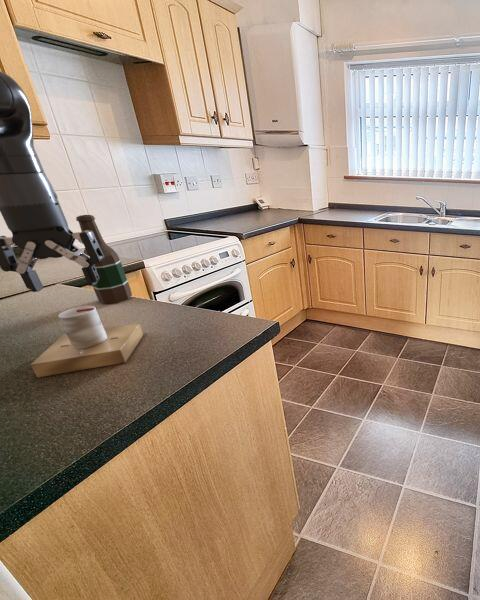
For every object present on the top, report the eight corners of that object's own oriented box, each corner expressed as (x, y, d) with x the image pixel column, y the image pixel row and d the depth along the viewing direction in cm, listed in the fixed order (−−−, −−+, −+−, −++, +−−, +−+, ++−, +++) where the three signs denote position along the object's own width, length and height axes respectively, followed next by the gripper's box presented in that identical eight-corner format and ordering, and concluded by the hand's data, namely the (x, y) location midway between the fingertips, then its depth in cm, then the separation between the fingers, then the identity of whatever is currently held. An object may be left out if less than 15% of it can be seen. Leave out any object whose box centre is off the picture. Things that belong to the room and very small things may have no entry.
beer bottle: (99, 298, 99) (65, 215, 89) (131, 291, 103) (103, 212, 93) (99, 306, 93) (63, 219, 83) (133, 299, 98) (103, 215, 88)
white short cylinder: (66, 351, 67) (51, 318, 64) (80, 337, 71) (66, 306, 68) (101, 345, 68) (87, 313, 65) (111, 333, 73) (99, 302, 70)
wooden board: (37, 377, 64) (29, 363, 62) (68, 346, 74) (62, 333, 73) (125, 362, 68) (120, 349, 67) (143, 334, 78) (139, 323, 77)
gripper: (-45, 206, 53) (5, 300, 60) (68, 201, 57) (103, 289, 64) (-11, 200, 59) (31, 286, 66) (88, 196, 64) (118, 276, 70)
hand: (66, 287), depth 65 cm, fingers open, 8 cm apart
